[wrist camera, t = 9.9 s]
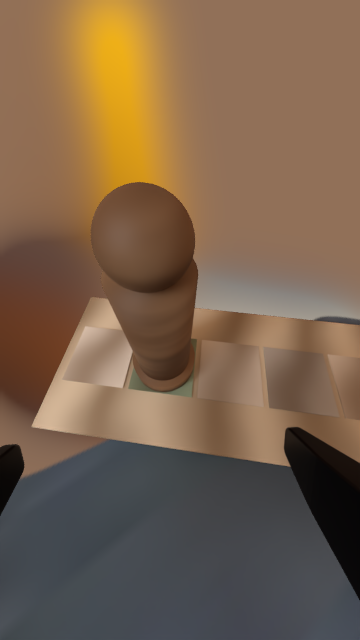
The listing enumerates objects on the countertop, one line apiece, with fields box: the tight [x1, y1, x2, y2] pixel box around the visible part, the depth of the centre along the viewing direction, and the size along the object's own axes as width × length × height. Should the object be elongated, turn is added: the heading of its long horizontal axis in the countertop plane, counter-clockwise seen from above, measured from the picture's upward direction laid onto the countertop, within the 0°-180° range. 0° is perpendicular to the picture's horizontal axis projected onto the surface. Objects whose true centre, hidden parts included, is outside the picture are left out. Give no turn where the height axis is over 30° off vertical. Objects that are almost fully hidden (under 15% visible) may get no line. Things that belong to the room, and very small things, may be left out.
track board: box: [32, 297, 360, 467], centre depth 16 cm, size 26×11×1 cm, turn 83°
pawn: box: [91, 182, 198, 392], centre depth 10 cm, size 4×4×12 cm
